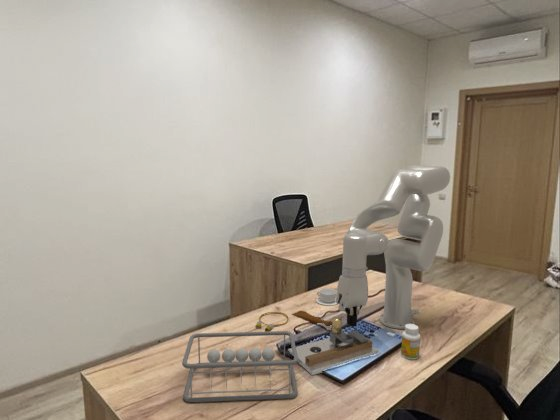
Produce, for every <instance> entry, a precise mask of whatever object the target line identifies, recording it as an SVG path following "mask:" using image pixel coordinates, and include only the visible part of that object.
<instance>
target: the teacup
mask: <svg viewBox="0 0 560 420" xmlns="http://www.w3.org/2000/svg"><path fill="white" fill-rule="evenodd" d="M336 295H337V289H333V288H329V287H325V288H321V289H319V290H317V292H316V296H317V298H316V299H315V301H316V303H317V304H320V305H323V306H335V305H338V304H337V303H336Z"/></svg>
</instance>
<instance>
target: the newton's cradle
mask: <svg viewBox="0 0 560 420" xmlns="http://www.w3.org/2000/svg"><path fill="white" fill-rule="evenodd" d="M258 336H260V337H261V336H262V337H264V336H283V359H279V360H277V359H276V360H275V359H274V358H275V356H276V353H275V351H274V349H273V348H271V347H265V348H264V349H263V350H260V348H257V347H253V348H251V349H250V350H249V352H248V351H247V349H246V348H238V349H237V351H234V350H233V349H230V348H226V349H225V350H223V352H222V355H221V352H220V351H219V350H218V349H213V348H212V349H210V350H209V351H208V353H207V355H206V358H207V361H208V362H201V352H200V351H201V349H200V348H201V346H200V345H201V344H200V341H201V340H200V338H222V337H223V338H227V337H229V338H230V337H231V338H232V337H258ZM286 336H288V337H289V341H290V345H291V348H292V351H293V356H294V358H293V359H292V360H287V359H286ZM196 338H197V342H198V343H197V346H198V347H197V348H198V362H196V363H188V360H189V356H190V353H191V349H192V346H193V342H194V339H196ZM296 347H297V346H296V343H295V337H294V334H293V333H292V332H290V331H288V330H287V331H286V330H282V331H281V330H277V331H275V330H273V331H272V330H271V331H269V332H268V331H241V332H239V331H238V332H236V331H235V332H207V333H206V332H203V333H201V332H200V333H193V334H192V335H191V336H190V337H189V340H188V343H187V345H186V349H185V353H184V355H183V358H182V362H181V365H182V367H183V368H185V369H189V373H188V376H187V380H186V385H185V388H184V391H183V396H182V397H183V400H184V401H185V402H187V403H206V402H207V403H208V402H211V403H212V402H235V401H237V402H239V401H256V400H257V401H258V400H259V401H261V400H283V399H285V400H286V399H293V398H296V397H297V396H298V393H299V391H298V390H299V389H298V386H297V380H296V375H295V370H294V365H296V364H297V363H298V355H297V350H296ZM220 358H222V360H223V361H221V362H220V361H219V360H220ZM234 359H236V360H237V361H234ZM248 359H250V360H248ZM261 359H263V360H261ZM275 366H277V367H278V366H288V368H272V369H271V367H275ZM245 367H247V368H248V367H249V368H251V367H253V368H254V369H245V370H244V369H243V368H245ZM257 367H268V369H267V368H266V369H257ZM215 368H216V369H218V368H220V369H221V368H225V370H218V371H217V370H216V371H215V370H214V369H215ZM229 368H240V370H229ZM195 369H210V371H195ZM242 369H243V370H242ZM279 371H282V372H283V371H289V372H288V375H289V376H288V388H274V389H273V388H272V382H269V387H270V389H247V390H246V389H245V390H243V389H240V390H227V387H228V386H227V385H228V379H225V390H221V391H220V390H218V391H193V382H192V381H193V376H194V375H195V374H196V375H198V374H210V377H214V376H213V374H216V373H217V374H222V373H225V374H226V375H228V374H229V373H240V383H242V380H243V379H242V378H243V377H242V375H243V373H250V372H251V373H255V375H254V378H255V379H254V380H255V381H254V383H255V384H254V385H255V387H257V372H268V373H269V377H271V372H279ZM291 383H292V384H291ZM212 387H213V380H210V390H212ZM291 387H292V388H291ZM291 389H292V390H293V392H292V391H291ZM273 391H274V392H275V391H277V392H278V391H289V392H288V393H276V394H275V393H273V394H271V393H270V394H248V395H226V396H225V395H223V396H199V397H197V396H196V397H193V395H200V394H201V395H203V394H225V393H226V394H227V393H228V394H229V393H253V392H255V393H256V392H273ZM291 392H292V393H291ZM189 393H190V397H189Z"/></svg>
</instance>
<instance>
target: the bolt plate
mask: <svg viewBox="0 0 560 420" xmlns="http://www.w3.org/2000/svg"><path fill="white" fill-rule="evenodd" d="M345 333H346V332H345ZM346 334H347V335H349V336H350V337H352V338H353V342H349V343H346V344H345V343H344V342H343V343H341V344H337V345H335V344H333V343H332V342H330V337H328V338H324V339H321V340H316V341H312V342H310V343H309V342H308V343H304V344H302V345H297V346H296V350H297V355H298V362H297V363H298V364H299V365H300V366H301V367H302V368H304V369H305V370H306V371H307V373H309V374H310V375H311V376H314V375H315V376H316V375H318V374H322V373H323V372H322V371H323V370H325V369H328V368H331V367H333V366H337V365H340V364H343V363H347V362H349V361H352V360H355V359H359V358H363V357H367V356H370V355H374V354H377V353H380V352H379V351H380V350H379V349H378V348H376V347H374V346H373V341H372V340H371V339H369V338H367V337H366V336H364V335H363V334H361V333H359V332H358V331H357V330H352V331H347V333H346ZM288 351H289V352H290V353H291V354H292V355H293V351H292V347H291V348H287V352H288Z"/></svg>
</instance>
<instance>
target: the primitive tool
mask: <svg viewBox="0 0 560 420" xmlns="http://www.w3.org/2000/svg"><path fill="white" fill-rule="evenodd" d="M291 315H292V316H293V317H296V318H299V319H302V320H304V321H307V322H309V323H312V324H314V325H317V323H324V324H325V325H326V326H330V325H332V324H333V321H331V320H325V319H322V318H319V317H316V316H315V315H312V314H310V313H309V312H307V311H304V310H298V311H297V312H294V313H292V314H291Z"/></svg>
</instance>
